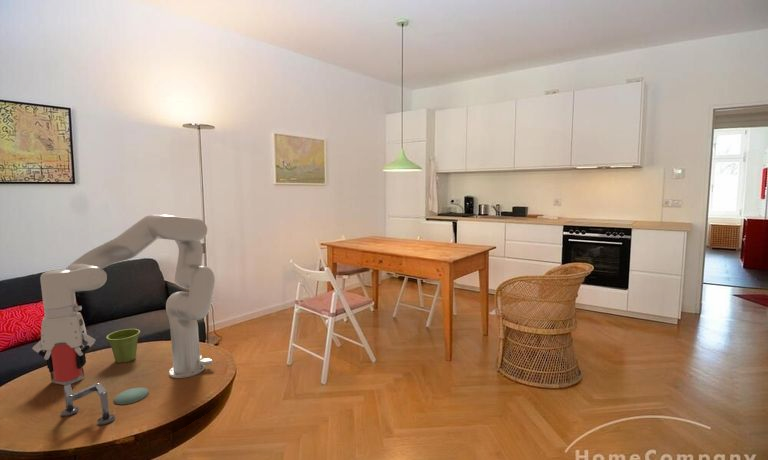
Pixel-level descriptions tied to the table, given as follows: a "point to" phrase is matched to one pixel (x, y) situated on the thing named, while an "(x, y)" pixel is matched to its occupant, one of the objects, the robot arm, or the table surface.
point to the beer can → (64, 363)
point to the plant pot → (124, 344)
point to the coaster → (131, 396)
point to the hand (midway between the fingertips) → (67, 368)
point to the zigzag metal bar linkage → (72, 396)
